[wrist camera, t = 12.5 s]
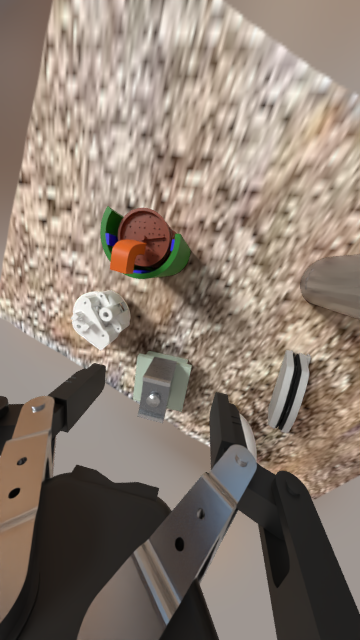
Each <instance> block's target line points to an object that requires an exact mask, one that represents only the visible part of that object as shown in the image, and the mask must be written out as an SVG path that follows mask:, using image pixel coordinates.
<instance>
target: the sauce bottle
mask: <svg viewBox="0 0 360 640" xmlns="http://www.w3.org/2000/svg"><path fill="white" fill-rule="evenodd" d="M239 414H240V413H239ZM240 420H241V423H242V427H243V431H244V435H245V440H246V444H247V448H248V450H249V451H250V452H251V453H252V455H253V456H254V458H255V460H256V461H257V449H256V442H255V438H254V434H253V431H252V429H251V427H250V425H249V423H248V421H247V420H246V419H245V418H244V417H243V416H242V415H241V414H240Z"/></svg>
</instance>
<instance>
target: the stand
mask: <svg viewBox="0 0 360 640" xmlns="http://www.w3.org/2000/svg"><path fill="white" fill-rule="evenodd" d="M154 356H155V357H160V358H164V359H168V360H172V361H177V364H176V369H175V374H174V379H173V384H172V389H171V394H170V398H169V402H168V406H167V408H168V409H172V410H176V411H180V412H182V408H183V404H184V399H185V395H186V390H187V385H188V381H189V376H190V372H191V366H192V365H189V364H187V362H188V359H183V358H179V357H174V356H170V355H165V354H161V353H156V352H152V351H148V352H147V354H146V355H145V354H139V355H138V358H137V367H136V376H135V385H134V394H133V400H136V401H140V400H141V392H142V385H143V381H142V379H143V376H144V374H145V372H146V370H147V369H148V367H149V365H150V363H151V362H152V360H153V358H154Z"/></svg>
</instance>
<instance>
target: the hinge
mask: <svg viewBox="0 0 360 640" xmlns="http://www.w3.org/2000/svg"><path fill="white" fill-rule="evenodd" d="M310 360H311V356H310V354H307V355H304V354H302V353H299V354H297V355H296V358H295V354H294V353H293V351H290V350H286V352H285V356H284V359H283V362H282V365H281V369H280V372H279V375H278V378H277V382H276V385H275V388H274V391H273V395H272V398H271V401H270V404H269V407H268V425H269V426H271V427H272V428H277V427H279V429H280V430H281V432H285V433H288V432H289V431H290V429H291V427H292V425H293V423H294V421H295V419H296V417H297V414H298V411H299V409H300V406H301V403H302V400H303V397H304V393H305V390H306V386H307V382H308V378H309V369H308V365H309V363H310Z"/></svg>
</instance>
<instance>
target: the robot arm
mask: <svg viewBox="0 0 360 640" xmlns="http://www.w3.org/2000/svg"><path fill="white" fill-rule="evenodd" d="M300 289H301V293H302V295H303V297H304V298H305V299H306V300H307V301H308V302H310V303H312V304H314V305H317V306H321V307H324V308H326V309H329V310H332V311H335V312H339V313H342V314H345V315H348V316H351V317H354V318H357V319H360V254H357V255H346V256H335V257H327V258H322V259H320V260H318V261H316V262H315V263H313V264H312V265H311V266H309V267H308V268H307V270H306V271H305V272H304V274H303V276H302V279H301V283H300ZM105 372H106V367H105V365H101V364H96V363H94V364H92V365H91V366H90V367H89V368H88V369H82V370H80V371H78V372H76V373H75V374H74V375H72V376H71V378H69V379H68V380H66V382H64V383H63V384H61V385H60V386H59V387H58V388H56V389H55V390H54V391H53V392H51V393H50V394H49V395H48V396H40V397H36V398H33V399H31V400H30V401H28V402H26V403H25V404H8V399H7V398H6V397H3V396H0V456H1V457H0V640H219V638H218V636H217V632H216V630H215V627H214V624H213V621H212V618H211V615H210V613H209V610H208V608H207V604H206V601H205V598H204V596H203V593H202V590H201V587H200V583H201V581H202V579H203V577H204V575H205V573H206V571H207V570H208V568H209V566H210V564H211V562H212V560H213V558H214V556H215V554H216V552H217V550H218V548H219V546H220V543H221V542H222V540H223V538H224V536H225V534H226V533H227V531H228V529H229V527H230V525H231V523H232V521H233V519H234V517H235V515H236V514H237V512H238V510H239V511H241V512H242V513H244V514H245V515H247V516H248V517H249V518H251V519H252V520H253V521H255V522H256V523H258V526H259V532H260V538H261V544H262V550H263V556H264V562H265V568H266V574H267V580H268V586H269V592H270V598H271V604H272V610H273V616H274V622H275V628H276V634H277V640H360V614H359V611H358V609H357V606H356V604H355V602H354V599H353V597H352V595H351V592H350V590H349V587H348V585H347V583H346V580H345V578H344V575H343V573H342V571H341V568H340V566H339V563H338V561H337V559H336V557H335V554H334V551H333V549H332V547H331V544H330V542H329V540H328V537H327V535H326V532H325V530H324V528H323V525H322V523H321V521H320V518H319V516H318V513H317V511H316V508H315V506H314V504H313V501H312V499H311V496H310V494H309V492H308V490H307V488H306V487H305V485H304V484H303V483H302V482H301V481H300V480H299V479H298V478H297V477H296V476H294V475H293V474H291V473H289V472H287V471H279V472H278V473H277V474H276V475H275V474H273V473H271V472H270V471H268V470H266V469H265V468H263V467H261V466H260V465H259V464H258V463H257V462H256V460H255V458H254V456H253V455H252V453H251V452H250V451H249V450H248V448H247V444H246V440H245V435H244V431H243V427H242V423H241V420H240V414H239V411H238V409H237V408H236V406H235V405H234V404H231V403H229V401H228V395H227V394H223V393H219V392H216V393H215V396H214V400H213V403H212V407H211V411H210V449H211V471H210V472H209V473H207V472H205V473H204V474H203V475H202V476H201V477H200V478H199V480H198V481H197V482H196V483H195V484H194V485H193V487H192V488H191V489H190V490H189V491H188V493H187V494H186V495H185V496H184V497H183V499H182V500H181V501H180V502H179V503H178V504H177V506H176V507H175V508H174V509H173V510H172V511H171V510H170V508H169V507H168V506H167V504H166V503H165V502H164V501H163V500H162V499H160V498H159V497H157V495H158V491H159V488H157V487H153V486H149V485H146V484H142V483H139V482H132V483H131V482H130V483H114V482H112V481H110V480H109V479H108V478H106V477H105V476H104V475H102V474H101V473H99V472H98V471H97V470H94V469H90V468H87V467H83V466H79V465H76V467H75V468H74V470H73V471H72V473H64V474H60V475H57V476H54V477H53V469H54V458H55V447H56V435H57V434H58V433H59V432H60V431H64V432H69V430H70V429H71V428H72V427H73V426H74V424H75V423H76V422H77V421H78V420H79V418H80V417H81V416H82V415H83V414H84V412H85V411H86V410H87V409H88V408H89V406H90V405H91V404H92V403H93V402H94V401H95V399H96V398H97V397H98V396H99V395H100V393H101V392H102V390H103V388H104V385H105Z"/></svg>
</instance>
